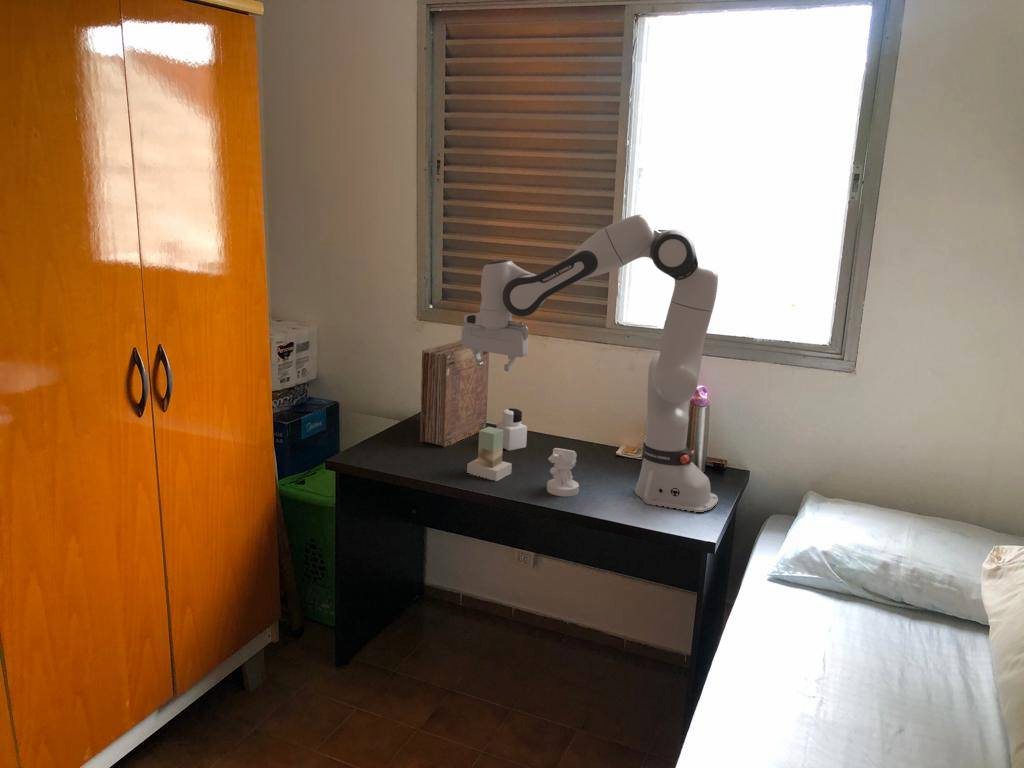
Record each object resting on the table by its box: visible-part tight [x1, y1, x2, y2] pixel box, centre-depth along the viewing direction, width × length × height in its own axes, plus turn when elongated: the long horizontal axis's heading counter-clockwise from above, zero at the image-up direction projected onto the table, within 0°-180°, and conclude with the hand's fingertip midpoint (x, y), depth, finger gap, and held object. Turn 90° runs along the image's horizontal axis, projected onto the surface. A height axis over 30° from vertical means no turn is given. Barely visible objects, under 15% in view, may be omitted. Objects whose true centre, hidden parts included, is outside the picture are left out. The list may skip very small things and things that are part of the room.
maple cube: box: [477, 447, 504, 468], centre depth 233 cm, size 5×5×5 cm
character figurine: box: [546, 447, 580, 497], centre depth 223 cm, size 9×10×12 cm
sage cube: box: [477, 426, 503, 451], centre depth 231 cm, size 5×5×5 cm
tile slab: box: [466, 458, 513, 482], centre depth 234 cm, size 10×8×3 cm
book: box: [419, 339, 490, 449], centre depth 263 cm, size 25×9×30 cm, turn 150°
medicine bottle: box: [495, 407, 528, 452], centre depth 257 cm, size 7×7×12 cm
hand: (493, 368), depth 226 cm, fingers open, 8 cm apart
